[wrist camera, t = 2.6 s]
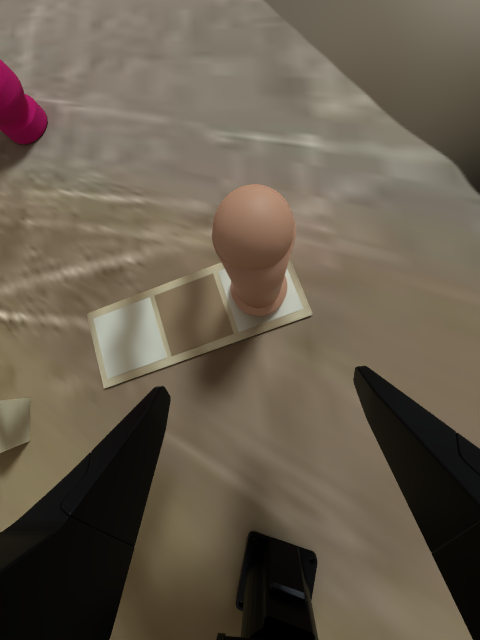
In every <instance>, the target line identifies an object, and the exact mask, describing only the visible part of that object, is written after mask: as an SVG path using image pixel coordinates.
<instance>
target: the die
mask: <svg viewBox="0 0 480 640" xmlns="http://www.w3.org/2000/svg"><path fill="white" fill-rule="evenodd" d="M29 441H30V397H25V398H18V399H10V400H2V401H0V453H2V452H4V451H7V450H9V449H12V448H14V447H17V446H19V445H22V444H24V443H26V442H29Z"/></svg>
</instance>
